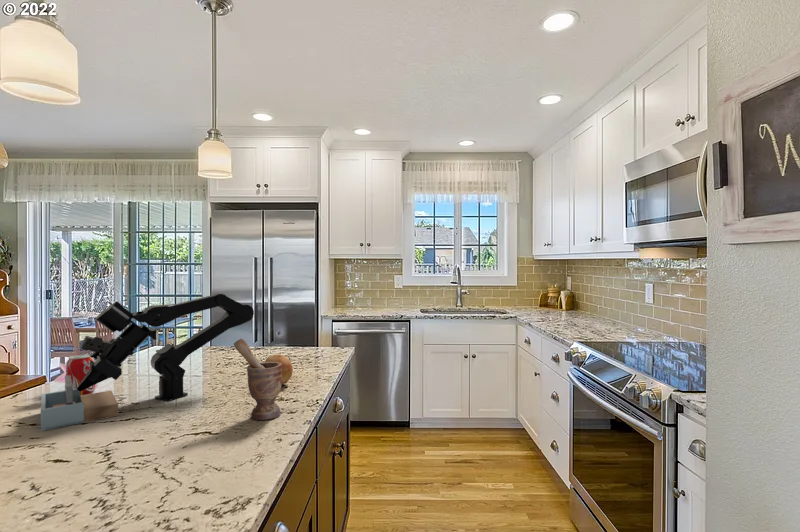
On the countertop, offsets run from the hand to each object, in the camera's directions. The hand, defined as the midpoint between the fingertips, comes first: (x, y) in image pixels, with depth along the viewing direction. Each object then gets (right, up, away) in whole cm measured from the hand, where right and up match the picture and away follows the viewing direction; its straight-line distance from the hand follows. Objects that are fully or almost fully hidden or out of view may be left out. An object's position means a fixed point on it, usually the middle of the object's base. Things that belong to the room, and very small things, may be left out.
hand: (78, 390), depth 110 cm
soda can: (-12, -7, +16) cm, 21 cm away
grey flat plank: (-1, -3, -1) cm, 4 cm away
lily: (-17, -7, +22) cm, 29 cm away
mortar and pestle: (+49, -6, -3) cm, 49 cm away
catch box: (-3, -6, -2) cm, 7 cm away
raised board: (+3, -6, +3) cm, 8 cm away
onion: (+45, -6, +25) cm, 52 cm away
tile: (-2, -6, -2) cm, 7 cm away
